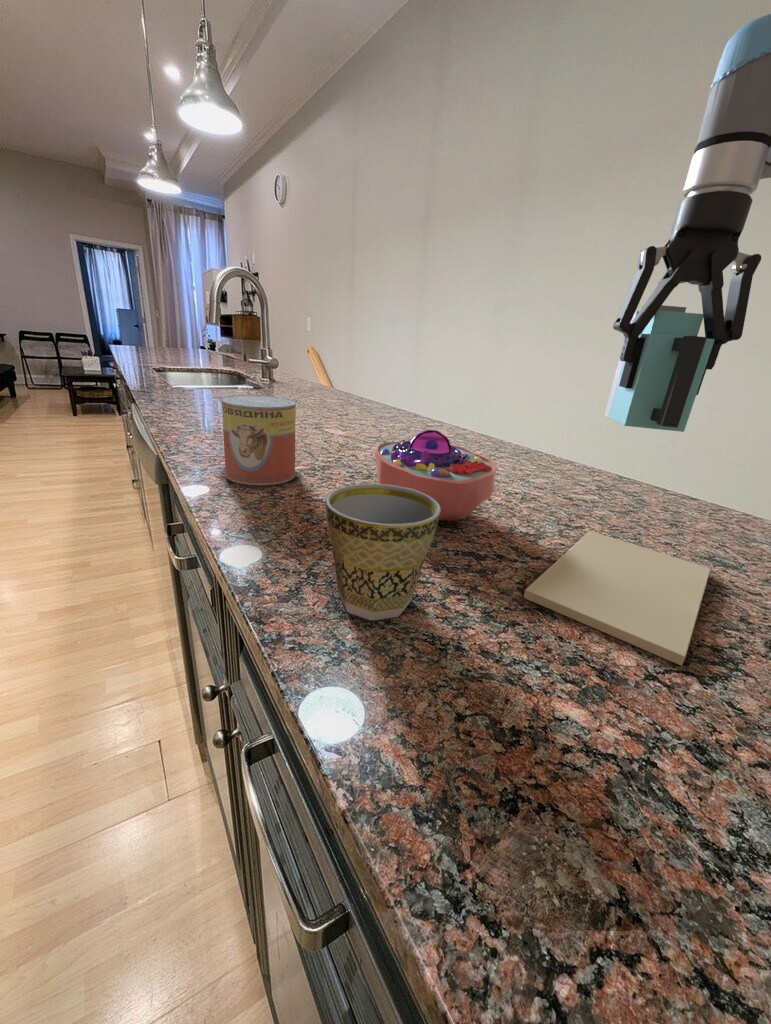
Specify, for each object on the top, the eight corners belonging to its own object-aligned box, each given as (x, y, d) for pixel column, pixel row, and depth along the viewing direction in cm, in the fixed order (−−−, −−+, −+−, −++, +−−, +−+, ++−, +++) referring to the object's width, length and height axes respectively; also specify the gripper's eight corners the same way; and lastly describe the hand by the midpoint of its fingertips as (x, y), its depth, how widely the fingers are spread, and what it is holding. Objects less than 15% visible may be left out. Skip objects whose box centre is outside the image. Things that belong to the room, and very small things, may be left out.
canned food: (213, 481, 69) (208, 402, 64) (238, 462, 79) (236, 392, 75) (286, 488, 69) (286, 410, 64) (301, 467, 79) (302, 399, 75)
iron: (633, 304, 64) (675, 297, 53) (691, 309, 64) (746, 302, 52) (604, 416, 70) (635, 431, 59) (656, 421, 70) (699, 437, 58)
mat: (587, 536, 61) (589, 530, 61) (708, 575, 53) (711, 568, 53) (523, 597, 45) (524, 589, 45) (681, 666, 37) (685, 656, 37)
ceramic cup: (402, 647, 36) (416, 536, 33) (300, 609, 40) (301, 505, 36) (449, 578, 47) (463, 489, 44) (366, 553, 51) (372, 469, 47)
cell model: (369, 538, 55) (376, 448, 51) (369, 485, 73) (374, 416, 69) (504, 546, 56) (522, 459, 52) (470, 493, 74) (482, 425, 70)
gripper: (785, 211, 57) (720, 395, 65) (616, 200, 58) (573, 380, 67) (833, 194, 50) (753, 401, 58) (639, 181, 51) (588, 385, 60)
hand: (657, 390), depth 62 cm, fingers closed on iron, 8 cm apart
